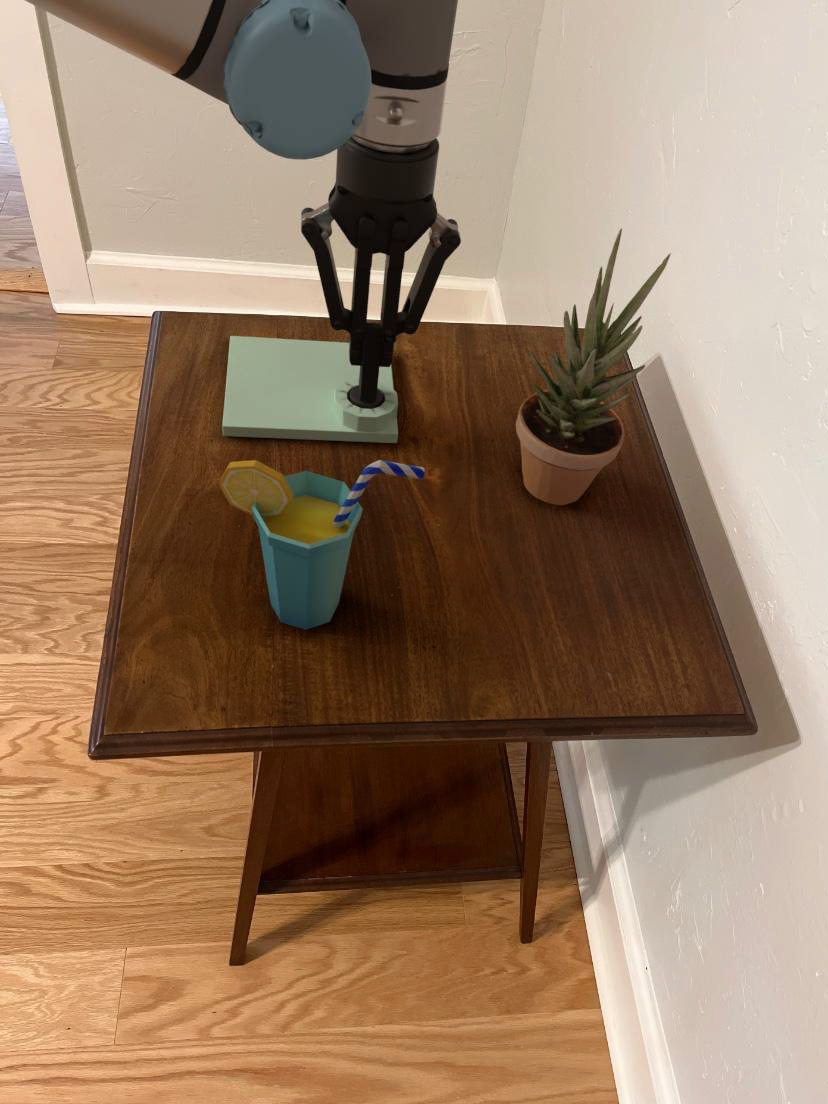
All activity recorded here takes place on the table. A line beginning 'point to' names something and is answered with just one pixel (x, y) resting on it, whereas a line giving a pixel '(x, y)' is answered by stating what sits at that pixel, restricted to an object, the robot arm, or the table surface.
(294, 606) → the cup
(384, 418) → the scale
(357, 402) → the tare button
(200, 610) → the table surface
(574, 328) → the potted plant
